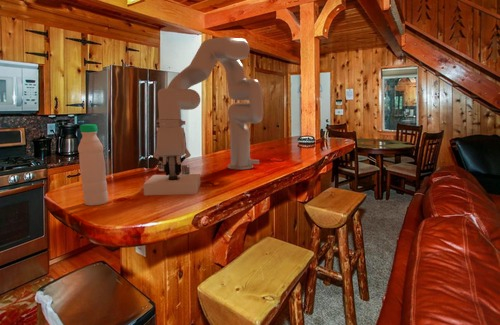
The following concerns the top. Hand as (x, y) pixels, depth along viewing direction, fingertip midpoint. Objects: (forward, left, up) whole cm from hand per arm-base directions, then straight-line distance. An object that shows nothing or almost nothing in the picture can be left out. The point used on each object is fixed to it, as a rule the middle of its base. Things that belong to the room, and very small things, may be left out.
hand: (173, 174), depth 110 cm
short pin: (-2, -17, -6) cm, 18 cm away
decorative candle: (+10, -37, -6) cm, 39 cm away
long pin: (0, 0, -3) cm, 3 cm away
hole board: (0, 0, -6) cm, 6 cm away
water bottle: (+22, +14, -6) cm, 27 cm away
